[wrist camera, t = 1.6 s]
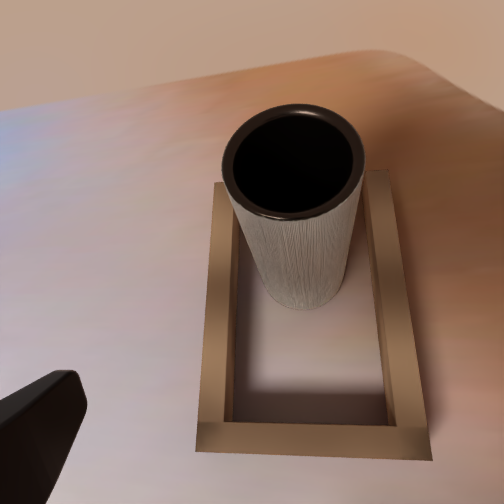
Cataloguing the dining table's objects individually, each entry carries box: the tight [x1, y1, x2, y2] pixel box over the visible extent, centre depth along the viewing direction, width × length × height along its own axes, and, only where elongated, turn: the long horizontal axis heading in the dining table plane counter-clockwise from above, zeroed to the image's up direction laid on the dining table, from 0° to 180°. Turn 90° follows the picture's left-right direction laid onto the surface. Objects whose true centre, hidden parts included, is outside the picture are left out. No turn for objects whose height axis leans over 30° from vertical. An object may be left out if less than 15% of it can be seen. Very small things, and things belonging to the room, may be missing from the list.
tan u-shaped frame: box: [195, 170, 433, 461], centre depth 19 cm, size 14×10×2 cm
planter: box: [221, 104, 366, 310], centre depth 16 cm, size 4×4×10 cm
